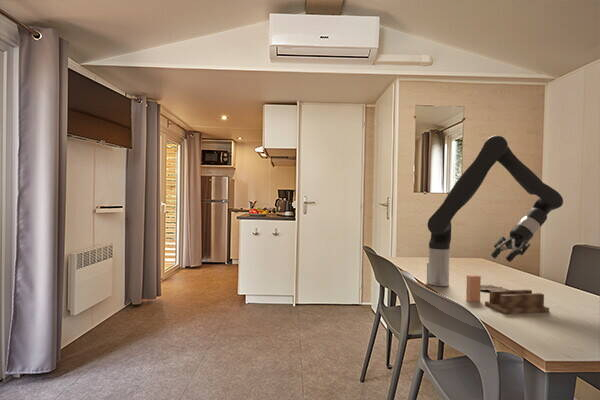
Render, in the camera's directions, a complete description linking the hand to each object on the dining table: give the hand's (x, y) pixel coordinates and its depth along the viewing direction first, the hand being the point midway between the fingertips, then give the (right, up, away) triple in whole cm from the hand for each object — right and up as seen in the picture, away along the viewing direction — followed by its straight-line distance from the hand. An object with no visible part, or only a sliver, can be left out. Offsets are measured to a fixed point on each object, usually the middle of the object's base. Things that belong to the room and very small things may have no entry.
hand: (500, 258), depth 151 cm
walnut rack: (0, -17, -12) cm, 21 cm away
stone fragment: (+8, -18, +11) cm, 22 cm away
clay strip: (-12, -17, -2) cm, 20 cm away
